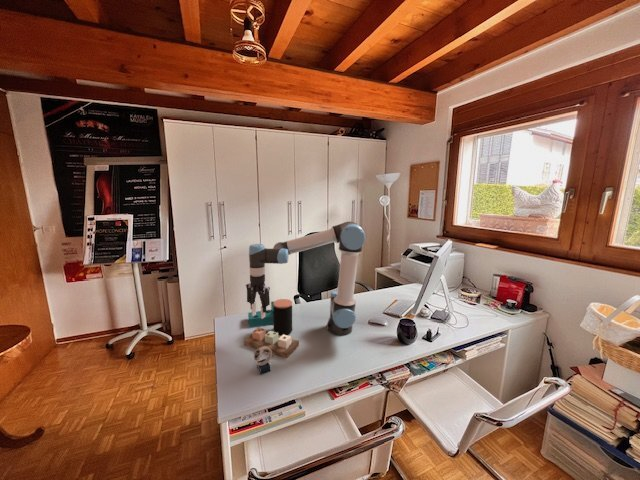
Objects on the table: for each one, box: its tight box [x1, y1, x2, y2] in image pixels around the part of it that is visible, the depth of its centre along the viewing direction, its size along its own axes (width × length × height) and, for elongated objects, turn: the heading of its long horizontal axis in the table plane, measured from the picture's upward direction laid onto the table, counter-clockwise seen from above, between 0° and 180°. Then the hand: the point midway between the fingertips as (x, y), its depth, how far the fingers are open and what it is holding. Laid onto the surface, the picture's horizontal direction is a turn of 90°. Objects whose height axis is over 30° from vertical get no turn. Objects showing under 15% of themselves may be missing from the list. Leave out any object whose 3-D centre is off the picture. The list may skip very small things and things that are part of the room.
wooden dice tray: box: [243, 330, 300, 360], centre depth 137 cm, size 26×12×3 cm, turn 65°
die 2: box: [265, 330, 278, 345], centre depth 137 cm, size 5×5×4 cm
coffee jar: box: [272, 298, 293, 336], centre depth 149 cm, size 11×11×18 cm
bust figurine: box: [253, 346, 273, 375], centre depth 118 cm, size 6×8×11 cm
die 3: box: [278, 334, 292, 349], centre depth 133 cm, size 5×5×4 cm
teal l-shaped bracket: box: [247, 300, 275, 328], centre depth 162 cm, size 18×11×10 cm, turn 108°
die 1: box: [251, 326, 267, 341], centre depth 140 cm, size 5×5×4 cm
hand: (258, 316), depth 138 cm, fingers open, 5 cm apart
